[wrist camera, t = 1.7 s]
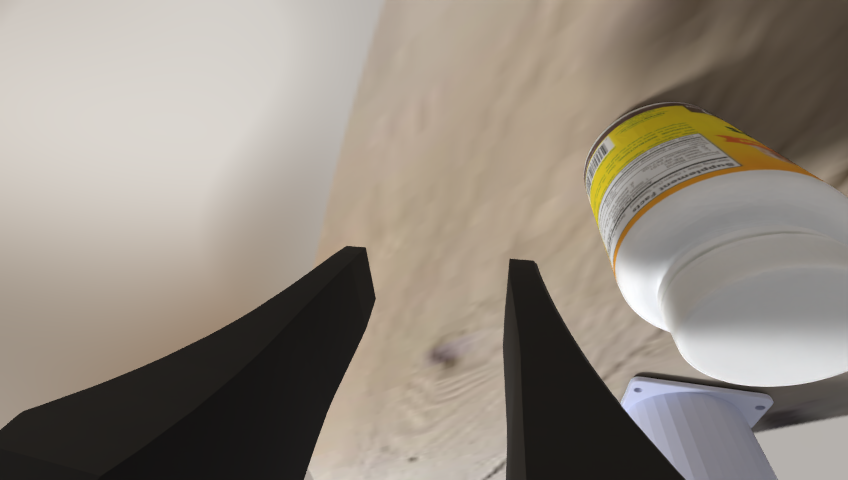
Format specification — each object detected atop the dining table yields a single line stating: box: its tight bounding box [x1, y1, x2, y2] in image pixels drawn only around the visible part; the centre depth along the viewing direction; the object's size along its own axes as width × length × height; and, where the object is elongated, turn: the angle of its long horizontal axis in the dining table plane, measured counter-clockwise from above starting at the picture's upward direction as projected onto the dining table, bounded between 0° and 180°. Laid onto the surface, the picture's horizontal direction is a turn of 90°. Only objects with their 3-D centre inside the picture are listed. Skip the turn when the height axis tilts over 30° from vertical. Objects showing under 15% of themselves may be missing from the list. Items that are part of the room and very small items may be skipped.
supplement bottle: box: [584, 102, 848, 387], centre depth 12 cm, size 6×6×10 cm
